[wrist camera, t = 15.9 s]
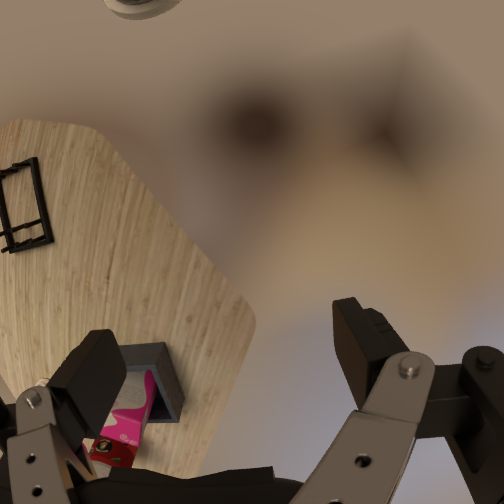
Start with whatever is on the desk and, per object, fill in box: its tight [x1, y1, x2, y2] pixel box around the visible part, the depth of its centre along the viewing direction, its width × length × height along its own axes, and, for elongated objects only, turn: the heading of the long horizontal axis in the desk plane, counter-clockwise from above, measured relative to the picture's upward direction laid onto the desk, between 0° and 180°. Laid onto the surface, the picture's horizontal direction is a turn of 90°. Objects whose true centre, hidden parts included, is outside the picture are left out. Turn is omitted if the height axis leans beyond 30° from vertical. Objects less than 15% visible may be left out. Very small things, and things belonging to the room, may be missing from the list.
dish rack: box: [0, 157, 54, 254], centre depth 34 cm, size 12×9×4 cm
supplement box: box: [100, 370, 158, 447], centre depth 37 cm, size 6×6×12 cm
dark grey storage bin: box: [119, 342, 185, 423], centre depth 41 cm, size 11×11×6 cm
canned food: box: [88, 434, 138, 478], centre depth 42 cm, size 8×8×11 cm
